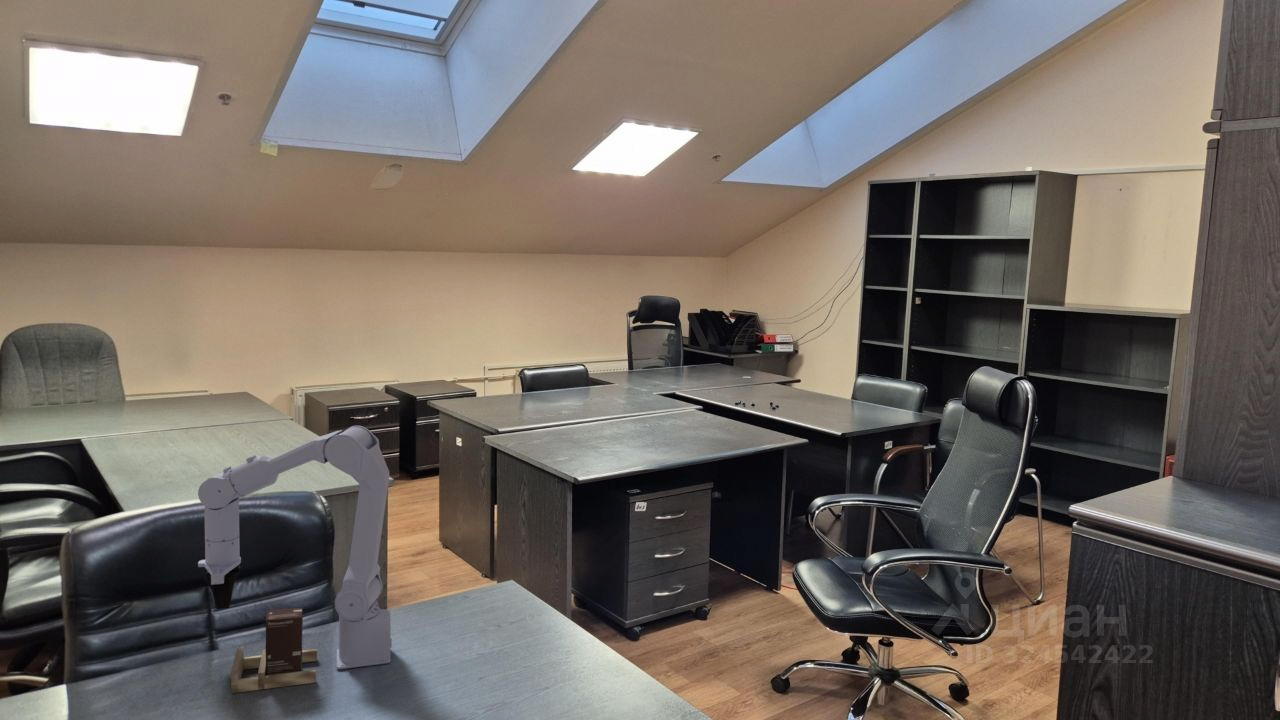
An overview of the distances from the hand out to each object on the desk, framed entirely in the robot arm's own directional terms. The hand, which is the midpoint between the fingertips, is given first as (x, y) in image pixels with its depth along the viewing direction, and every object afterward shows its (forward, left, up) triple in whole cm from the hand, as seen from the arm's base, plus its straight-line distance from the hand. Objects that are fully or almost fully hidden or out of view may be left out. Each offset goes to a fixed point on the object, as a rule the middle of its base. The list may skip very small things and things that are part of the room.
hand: (223, 607), depth 151 cm
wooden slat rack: (-10, +11, -9) cm, 17 cm away
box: (-11, +12, -10) cm, 19 cm away
